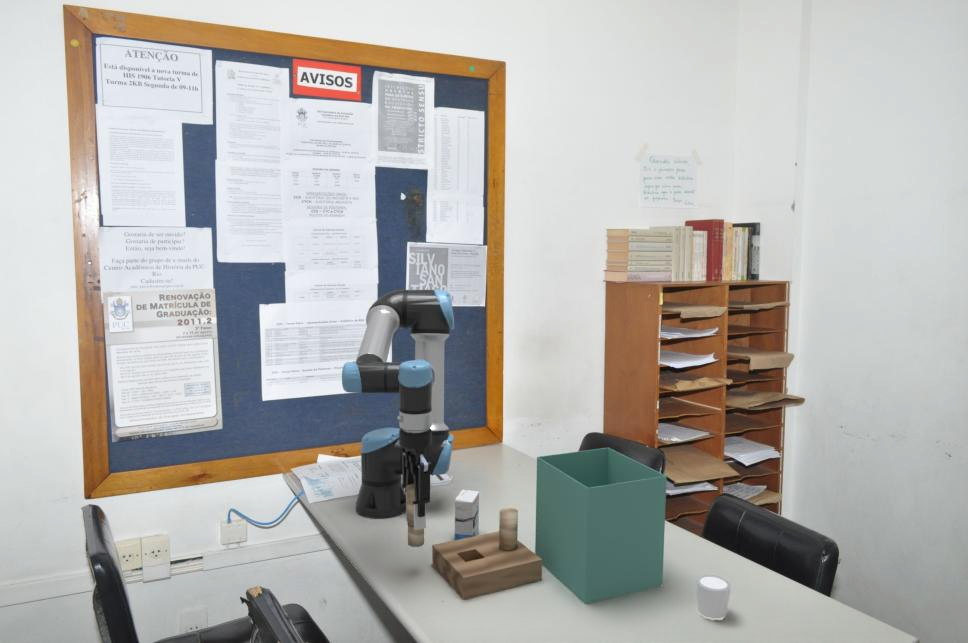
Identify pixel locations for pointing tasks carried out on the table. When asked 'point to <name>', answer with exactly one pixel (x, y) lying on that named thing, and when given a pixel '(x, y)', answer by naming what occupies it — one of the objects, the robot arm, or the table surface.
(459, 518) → the ink box
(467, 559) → the seat board
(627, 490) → the box
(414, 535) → the beech leg
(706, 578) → the light grey short cylinder
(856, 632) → the table surface
